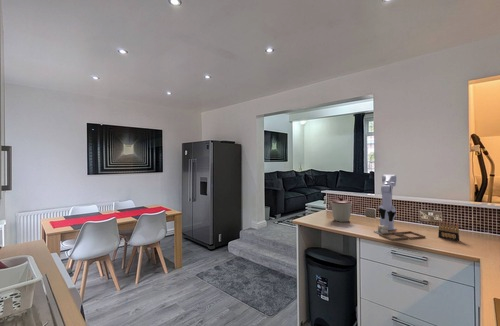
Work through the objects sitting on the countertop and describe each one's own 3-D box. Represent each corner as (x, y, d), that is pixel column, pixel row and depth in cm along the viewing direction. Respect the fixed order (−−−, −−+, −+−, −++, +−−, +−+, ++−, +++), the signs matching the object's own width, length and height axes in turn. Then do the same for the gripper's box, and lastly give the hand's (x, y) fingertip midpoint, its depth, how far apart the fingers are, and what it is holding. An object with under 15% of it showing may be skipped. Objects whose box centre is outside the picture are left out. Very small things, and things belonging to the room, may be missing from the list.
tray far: (396, 233, 170) (396, 232, 170) (410, 232, 173) (410, 231, 173) (410, 239, 159) (410, 237, 159) (425, 237, 161) (425, 236, 161)
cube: (378, 231, 175) (378, 225, 175) (383, 231, 176) (383, 225, 176) (382, 233, 171) (382, 227, 171) (388, 232, 172) (387, 226, 172)
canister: (326, 219, 216) (326, 196, 216) (343, 217, 222) (342, 195, 222) (339, 224, 199) (339, 199, 199) (357, 222, 205) (356, 197, 205)
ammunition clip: (438, 237, 162) (438, 219, 162) (438, 236, 163) (438, 219, 163) (458, 241, 154) (458, 222, 154) (459, 240, 155) (459, 222, 155)
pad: (373, 231, 176) (373, 231, 176) (385, 231, 178) (385, 230, 178) (380, 234, 169) (380, 234, 169) (392, 233, 171) (392, 233, 171)
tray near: (379, 235, 168) (379, 233, 168) (393, 234, 170) (393, 232, 170) (392, 240, 156) (392, 239, 156) (407, 239, 158) (407, 237, 158)
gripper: (374, 200, 180) (375, 218, 180) (389, 203, 166) (389, 222, 166) (383, 199, 181) (383, 217, 181) (398, 203, 167) (398, 222, 167)
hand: (386, 220), depth 174 cm, fingers open, 7 cm apart
